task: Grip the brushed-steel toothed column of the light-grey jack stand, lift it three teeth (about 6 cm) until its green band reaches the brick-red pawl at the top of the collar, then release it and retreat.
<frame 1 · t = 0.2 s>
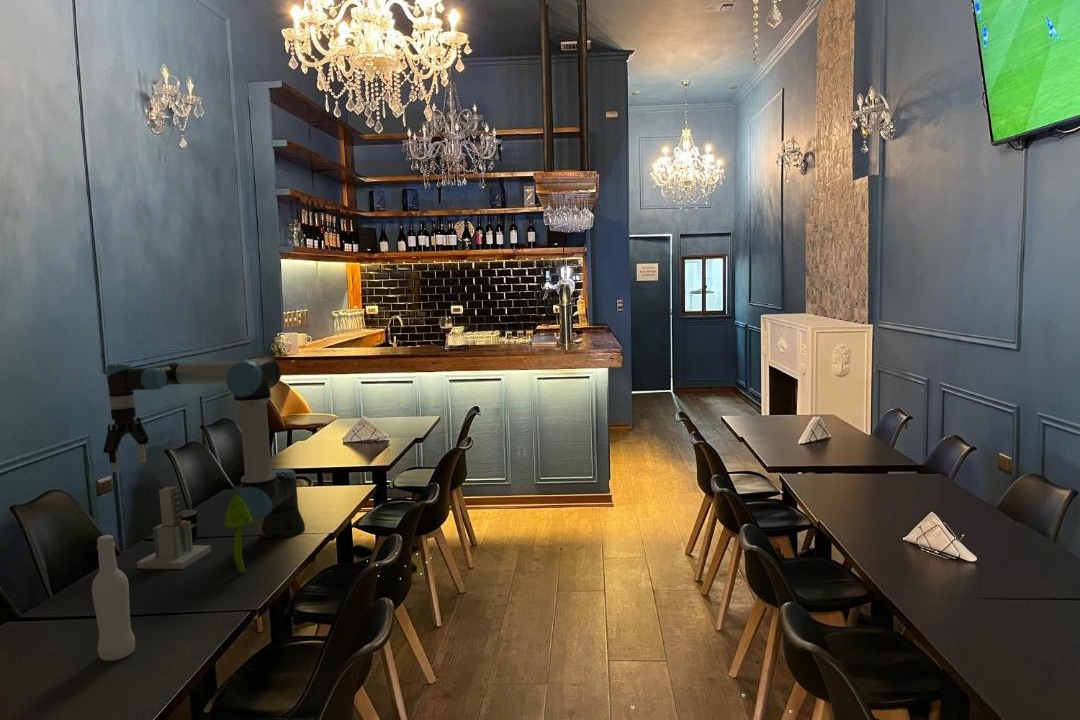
hand: (129, 467, 272), 28 cm above the table, fingers open, 13 cm apart
mug: (187, 540, 277), on the table
mushroom: (243, 572, 242), on the table
stand base: (175, 559, 257), on the table
column: (172, 521, 255), point 13 cm above the table, slide at 0.0 cm
bottle: (117, 654, 191), on the table
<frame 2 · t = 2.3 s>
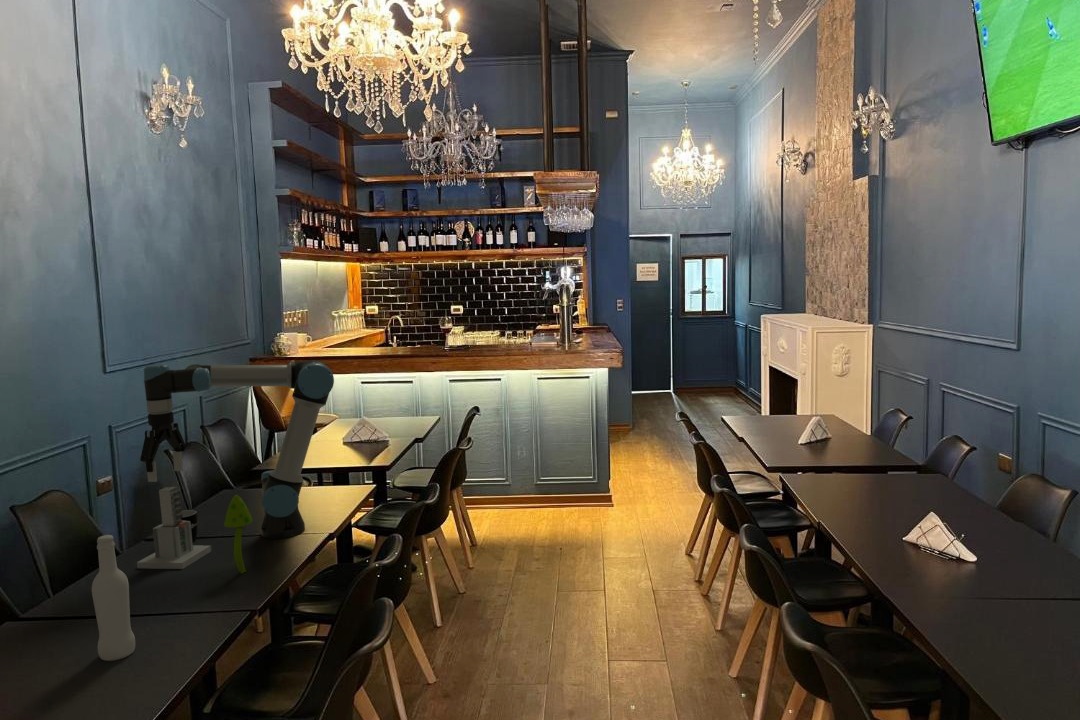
hand: (166, 476, 254), 28 cm above the table, fingers open, 13 cm apart
nothing on the table moved.
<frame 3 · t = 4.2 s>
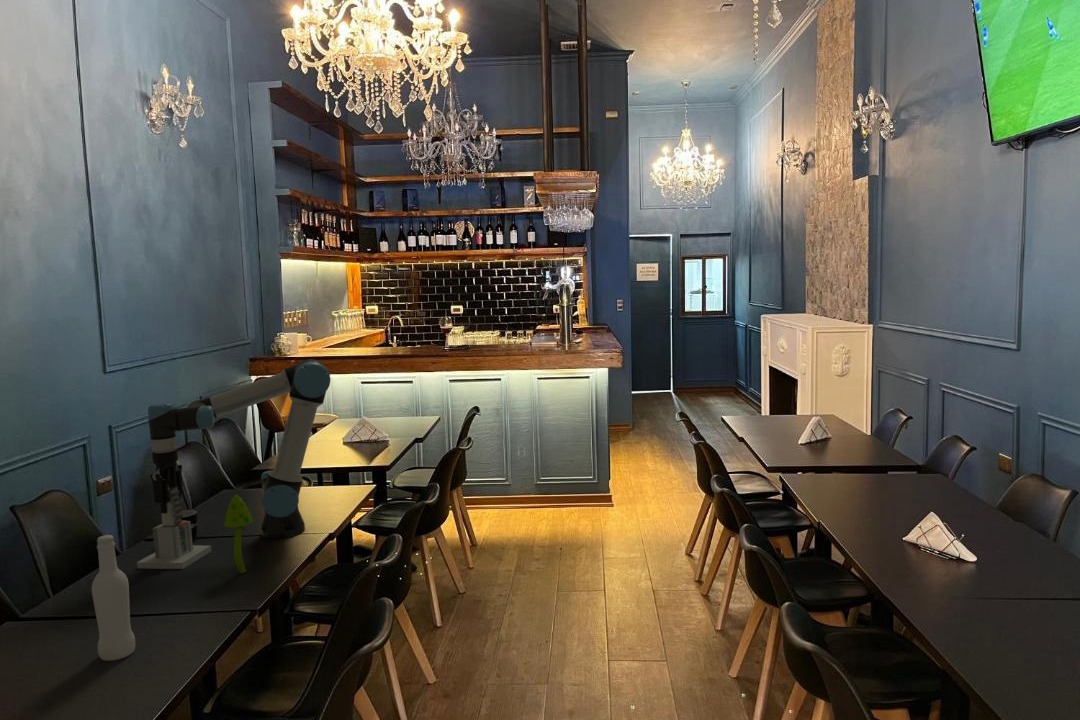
hand: (171, 519, 255), 14 cm above the table, fingers closed on column, 4 cm apart
column: (172, 521, 255), point 13 cm above the table, slide at 0.0 cm, touching gripper
everything else where it was.
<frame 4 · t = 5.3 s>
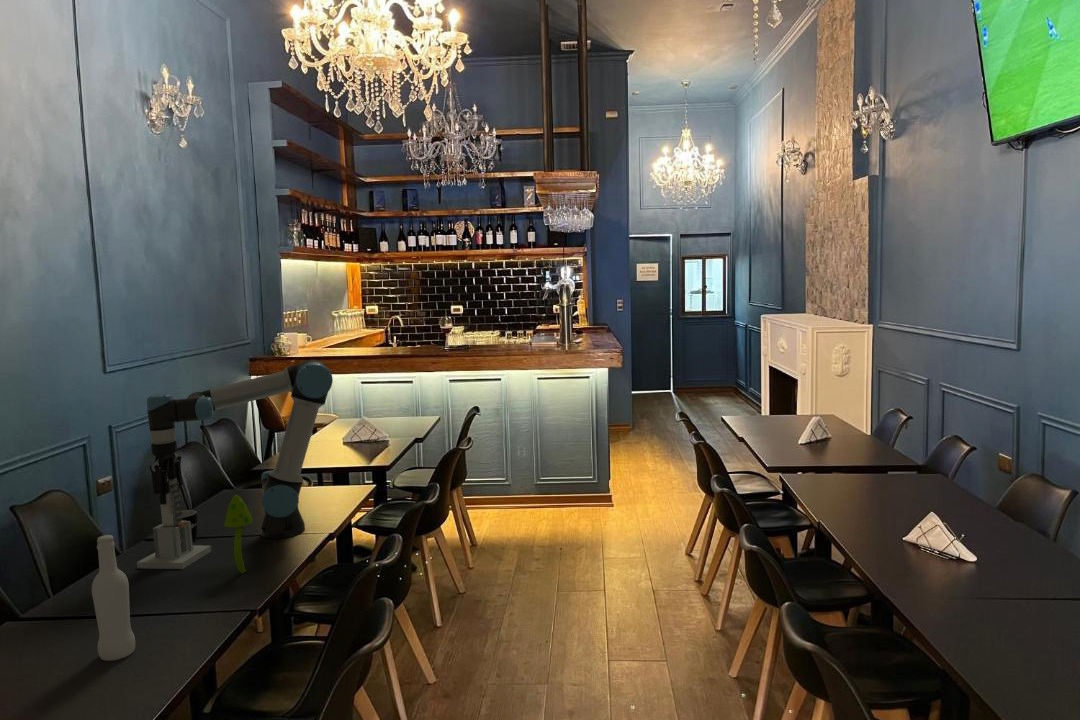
hand: (170, 511, 255), 17 cm above the table, fingers closed on column, 4 cm apart
column: (171, 512, 255), point 16 cm above the table, slide at 2.9 cm, touching gripper
everything else where it was.
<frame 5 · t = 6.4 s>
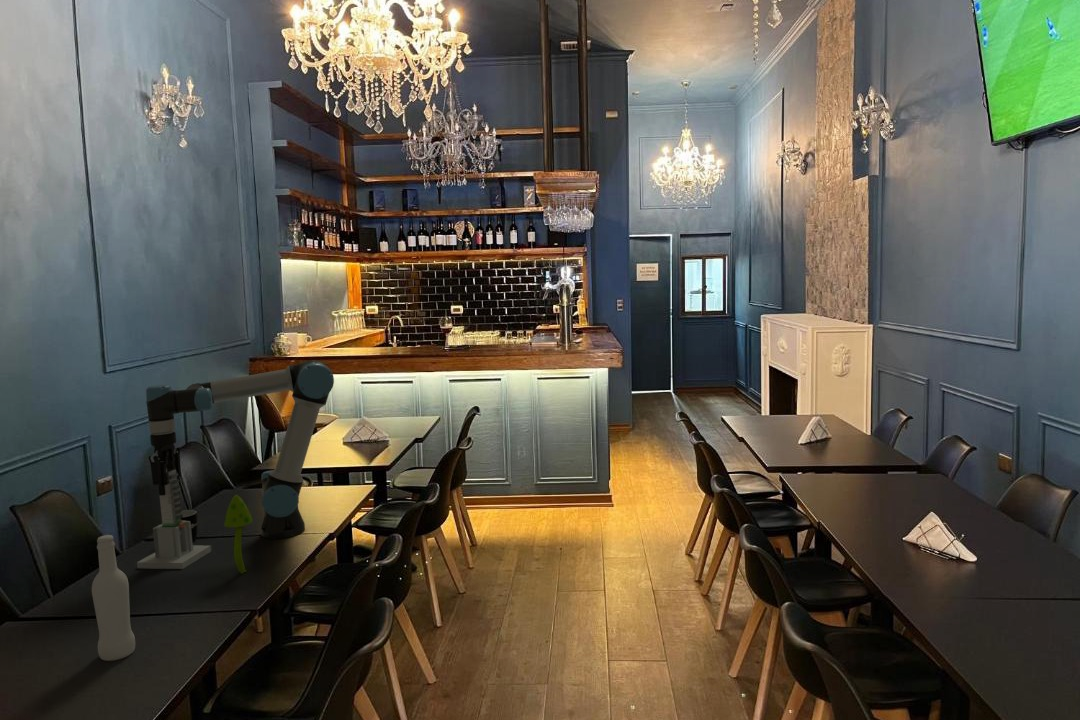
hand: (169, 502, 255), 20 cm above the table, fingers closed on column, 4 cm apart
column: (170, 503, 255), point 19 cm above the table, slide at 6.0 cm, touching gripper
everything else where it was.
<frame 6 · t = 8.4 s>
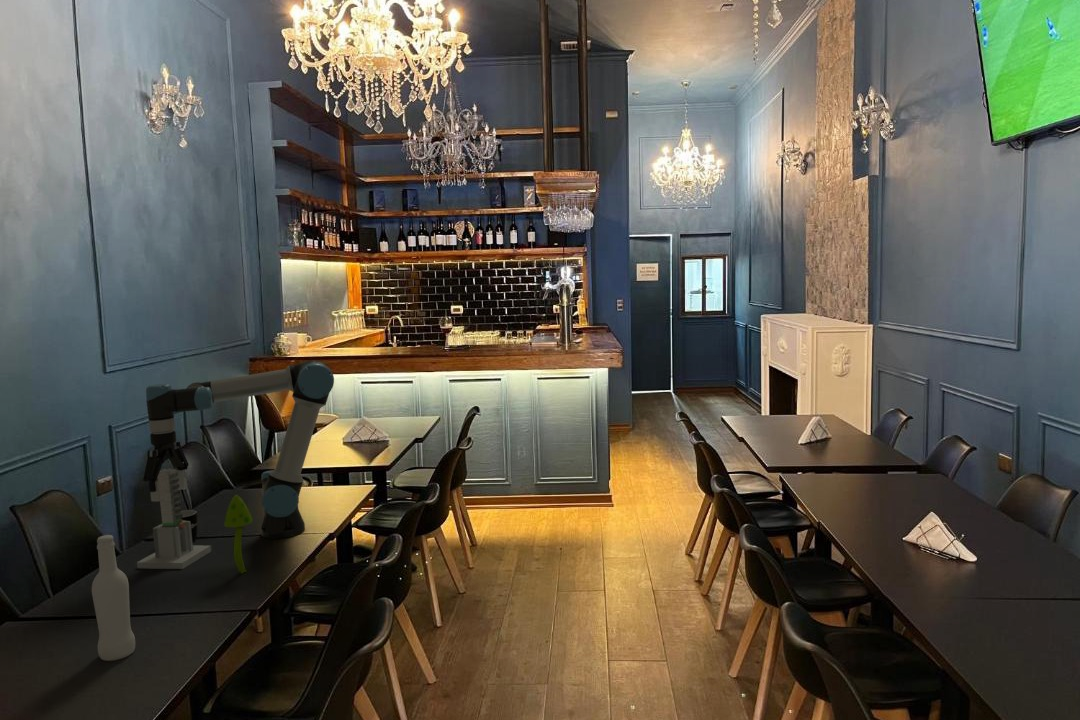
hand: (169, 495, 254), 22 cm above the table, fingers open, 13 cm apart
column: (170, 502, 255), point 19 cm above the table, slide at 6.2 cm
everything else where it was.
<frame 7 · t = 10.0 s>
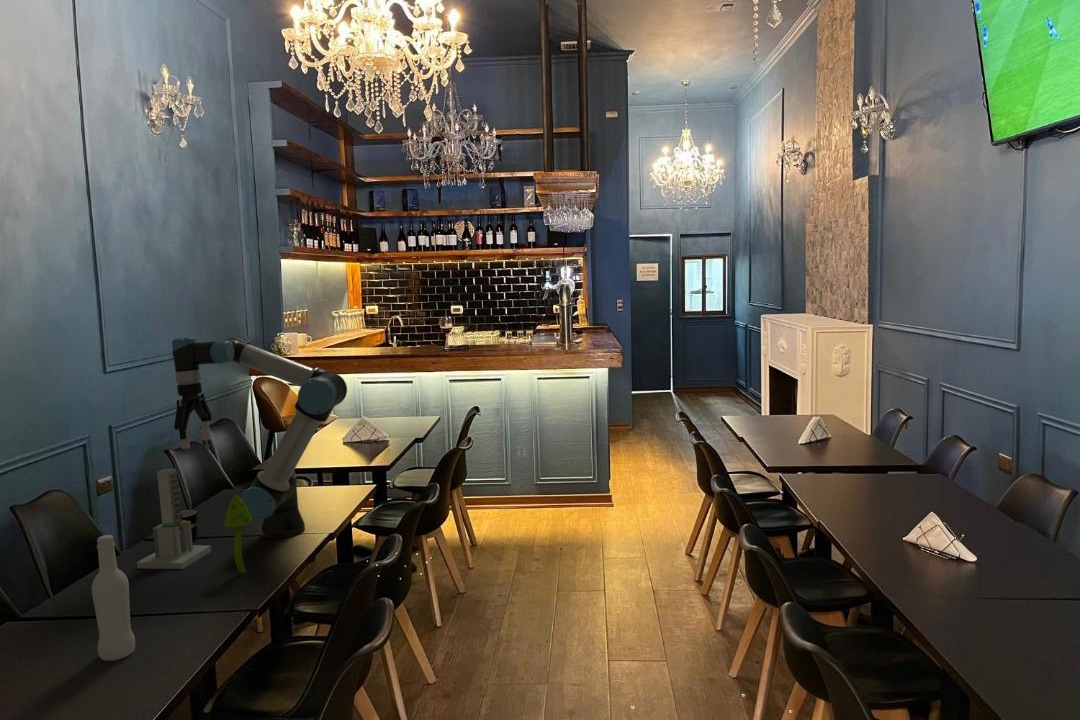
hand: (196, 444, 265), 36 cm above the table, fingers open, 13 cm apart
nothing on the table moved.
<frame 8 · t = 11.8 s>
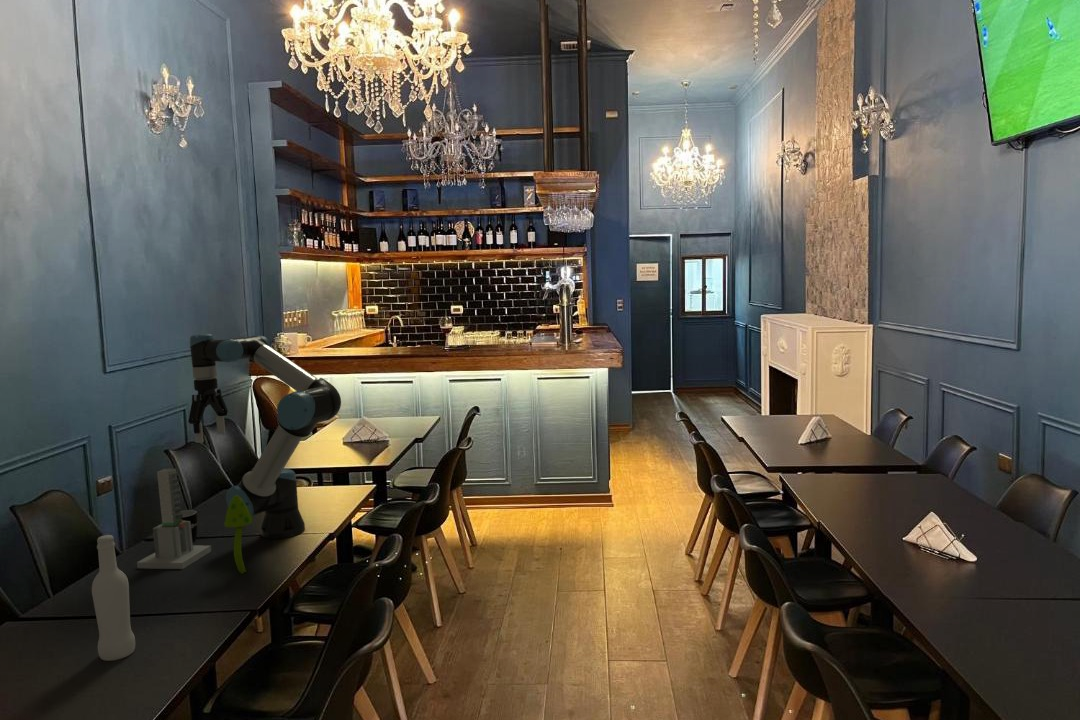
hand: (210, 438, 272), 37 cm above the table, fingers open, 13 cm apart
nothing on the table moved.
at the end: column slide at 6.2 cm; the gripper is holding nothing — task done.
